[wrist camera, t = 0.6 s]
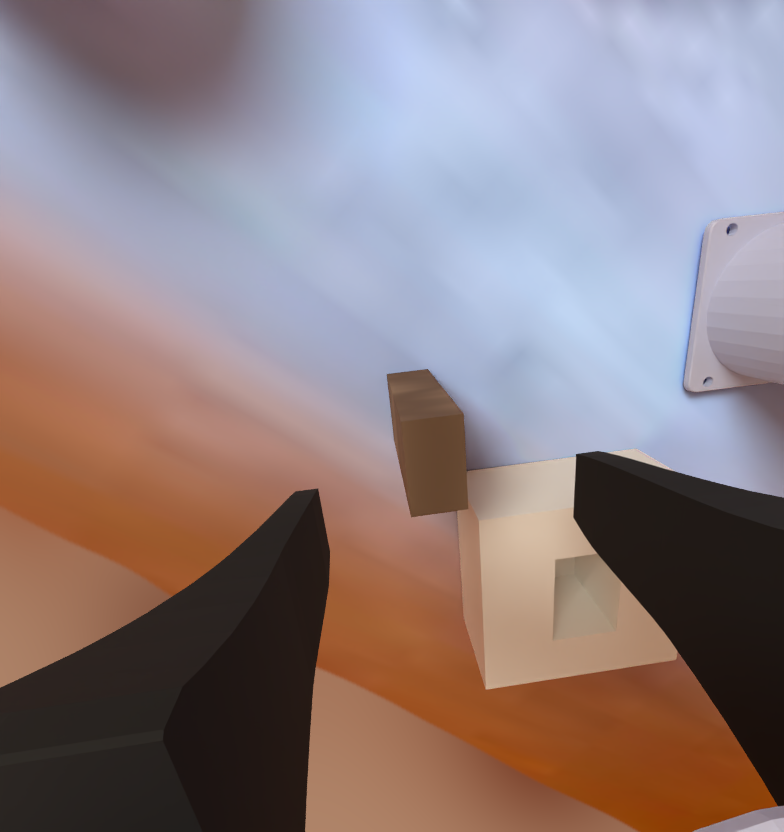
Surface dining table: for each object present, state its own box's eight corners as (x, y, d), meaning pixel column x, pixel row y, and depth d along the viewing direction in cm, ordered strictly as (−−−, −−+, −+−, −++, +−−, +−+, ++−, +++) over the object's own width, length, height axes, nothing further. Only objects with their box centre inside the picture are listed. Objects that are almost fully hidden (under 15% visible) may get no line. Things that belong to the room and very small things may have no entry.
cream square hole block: (636, 448, 21) (705, 489, 17) (621, 594, 24) (676, 659, 20) (454, 472, 21) (479, 520, 17) (463, 618, 24) (485, 689, 20)
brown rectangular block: (427, 369, 19) (463, 413, 12) (432, 435, 20) (468, 509, 14) (386, 374, 19) (401, 421, 12) (394, 440, 20) (411, 517, 13)
